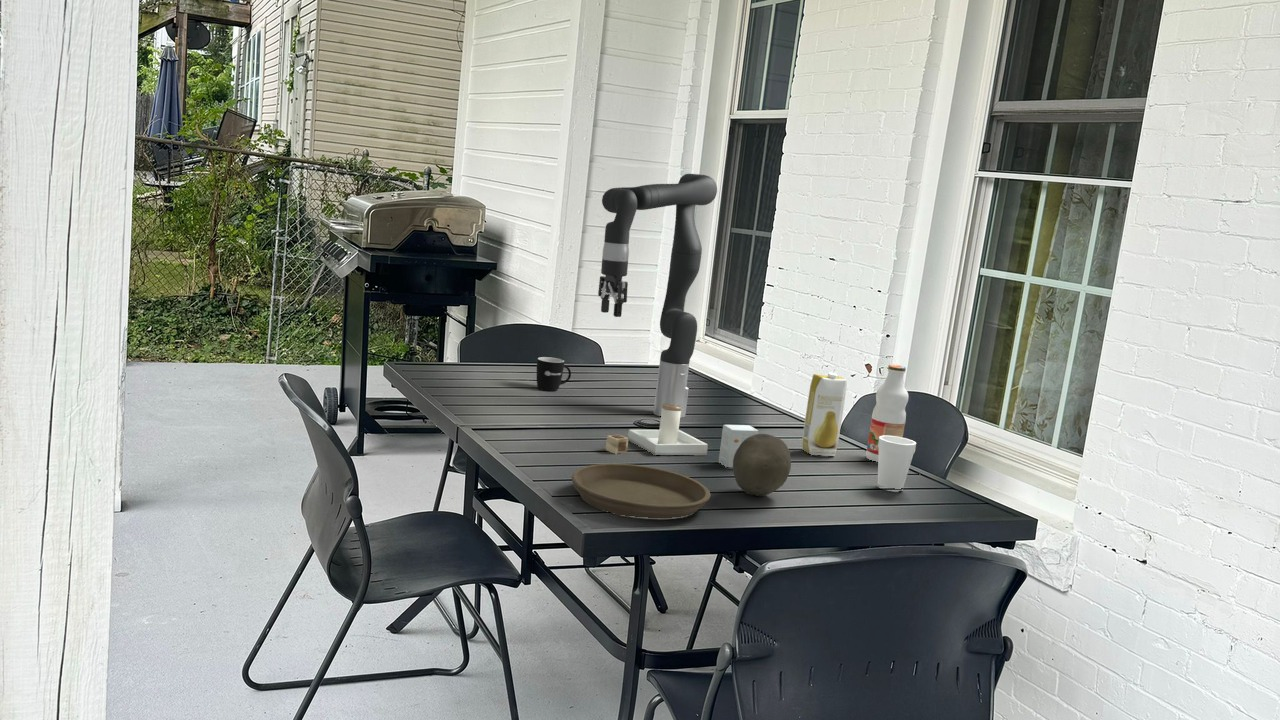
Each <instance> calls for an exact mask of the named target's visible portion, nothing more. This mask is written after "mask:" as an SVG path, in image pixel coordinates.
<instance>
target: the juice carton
mask: <svg viewBox="0 0 1280 720" xmlns="http://www.w3.org/2000/svg"><path fill="white" fill-rule="evenodd" d="M846 394H847V379H846V378H843V377H841V376H840V375H839V376H838V374H837V373H835V372H828V374H827V375H824V374H819V373H813V375H812V378H811V383H810V385H809V391H808V397H807V406H806V409H805V410H806V413H805V417H804V425H803V430H802V431H803V432H802V440H801V449H802V451H803V450H804V451H803V452H805V451H806V452H807V454H808V453H809V454H811V455H810V456H812V455H827V456H826V457H828V456H834V457H835V456H836V452H837V449H838V445H839V440H840V433H841V427H842V421H843V414H844V407H845V400H846ZM806 452H805V453H806ZM809 454H808V455H809Z"/></svg>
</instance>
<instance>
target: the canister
mask: <svg viewBox="0 0 1280 720" xmlns="http://www.w3.org/2000/svg"><path fill="white" fill-rule="evenodd" d="M681 410H682V406H680V405H676V404H669V403H665V404H662V413H661V417H660V421H659V422H660V423H659V429H658V430H659V437H658V444H677V438H678V430H680V429H679V428H680V420H681V418H680V415H681Z"/></svg>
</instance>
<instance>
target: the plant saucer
mask: <svg viewBox="0 0 1280 720" xmlns="http://www.w3.org/2000/svg"><path fill="white" fill-rule="evenodd" d="M571 480H572V483H573V487H574V489H575V490H576V491H577V492H578V493H579V495H580V497H581V499H582V500H583V501H584V502H585V503H587V504H588V505H589V506H591V507H593V508H596V509H597V508H598V509H597V510H599V509H601V510H600V511H602V510H604V511H603V512H605V511H608V512H611V513H615V514H618V515H617V516H619V515H625V516H635V517H648V518H672V517H681V516H686V515H690V514H692V513H694V512H696V513H697V511H698V510H700V509H702V508H703V507H704V506H705V505H706V504H707V503H708V502H709V500H710V498H711V493H710V492H711V491H710V490H709V489H708V487H706V486H705V485H704V483H703V484H702V483H701V482H699V481H698V480H696V479H695V478H694V479H693V478H691V477H689V476H686V475H684V474H681V473H679V472H678V473H677V472H674V471H671V470H667V469H663V468H659V467H653V466H646V465H641V464H630V463H599V464H590V465H586V466H583V467H581V468H579V469H576V470H575V471H574V472H573V473H572V475H571ZM608 512H607V513H608ZM611 513H610V514H611ZM615 514H614V515H615ZM694 514H695V513H694Z"/></svg>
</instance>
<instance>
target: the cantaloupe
mask: <svg viewBox="0 0 1280 720" xmlns="http://www.w3.org/2000/svg"><path fill="white" fill-rule="evenodd" d="M791 457H792V456H791V453H790V449H789V448H788V446H787V444H786V443H785V442H784V441H783V440H782V439H781V438H779V437H777V436H774V435H771V434H768V433H758V434H756V435H753V436H750V437H748V438H747V439H745V440H744V441H743V442H742V443H741V445H740V446H739V448H738V449H737V451H736V453H735V455H734V459H733V468H732V472H733V476H734V479H735V482H736V484H737V486H738V487H739V488H740V489H741V490H742V491H743V492H745V493H746V494H747V493H748V494H747V495H750V494H751V495H750V496H753V495H758V496H757V497H764V495H765V496H768V495H770V494H772V493H774V492H775V491H778V490H779V489H780V488H781V487H782V486H783V485H784V484H785V483H786V481H787V479H788V477H789V476H790V472H791V469H792V459H791Z"/></svg>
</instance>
